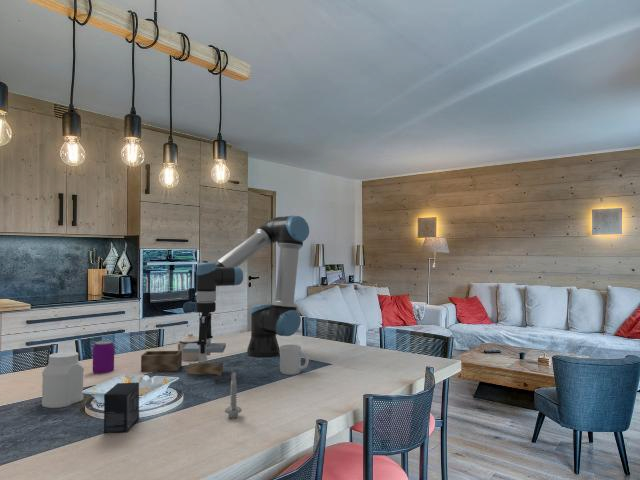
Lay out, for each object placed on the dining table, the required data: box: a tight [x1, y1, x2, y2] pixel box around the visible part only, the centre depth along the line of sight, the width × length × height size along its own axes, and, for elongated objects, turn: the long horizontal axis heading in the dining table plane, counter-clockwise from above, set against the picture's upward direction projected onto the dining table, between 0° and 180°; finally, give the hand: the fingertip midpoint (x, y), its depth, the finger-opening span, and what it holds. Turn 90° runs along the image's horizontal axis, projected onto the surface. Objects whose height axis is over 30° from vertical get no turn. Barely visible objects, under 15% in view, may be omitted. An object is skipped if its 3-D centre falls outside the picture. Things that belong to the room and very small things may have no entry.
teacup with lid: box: [177, 333, 199, 362], centre depth 203 cm, size 12×9×12 cm
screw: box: [224, 371, 242, 420], centre depth 134 cm, size 13×5×5 cm
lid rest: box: [186, 362, 224, 377], centre depth 180 cm, size 13×6×4 cm, turn 96°
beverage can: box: [92, 340, 115, 375], centre depth 181 cm, size 8×8×12 cm
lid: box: [183, 342, 227, 354], centre depth 180 cm, size 15×10×2 cm
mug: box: [279, 344, 310, 376], centre depth 183 cm, size 12×8×10 cm
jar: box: [41, 351, 85, 409], centre depth 146 cm, size 12×10×15 cm
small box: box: [103, 382, 140, 434], centre depth 127 cm, size 11×6×10 cm, turn 5°
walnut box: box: [140, 350, 183, 373], centre depth 185 cm, size 14×8×7 cm, turn 96°
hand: (204, 358), depth 180 cm, fingers closed on lid, 10 cm apart
